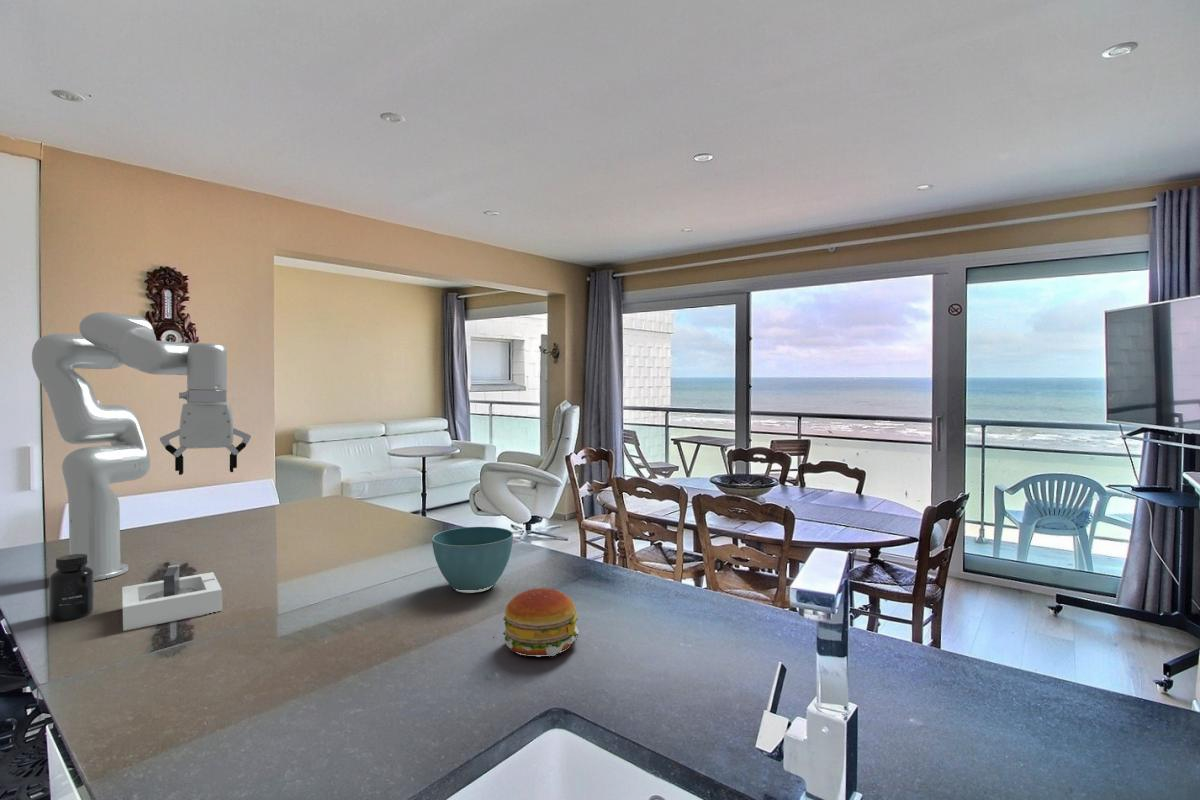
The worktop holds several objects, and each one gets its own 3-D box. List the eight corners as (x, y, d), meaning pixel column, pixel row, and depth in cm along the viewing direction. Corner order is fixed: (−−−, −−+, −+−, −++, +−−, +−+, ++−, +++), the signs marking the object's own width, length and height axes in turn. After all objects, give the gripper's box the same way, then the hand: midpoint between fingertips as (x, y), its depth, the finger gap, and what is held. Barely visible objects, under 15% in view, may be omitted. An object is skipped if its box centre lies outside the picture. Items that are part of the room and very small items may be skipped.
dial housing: (122, 608, 125) (122, 586, 125) (213, 591, 135) (213, 571, 135) (123, 631, 113) (122, 606, 113) (222, 611, 123) (222, 588, 123)
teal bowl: (415, 595, 132) (414, 540, 132) (463, 572, 149) (463, 523, 149) (485, 606, 126) (484, 548, 125) (527, 580, 142) (527, 529, 142)
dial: (195, 604, 122) (195, 572, 122) (140, 612, 118) (140, 579, 118) (200, 591, 130) (200, 561, 130) (149, 598, 126) (148, 567, 125)
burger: (495, 638, 110) (494, 584, 110) (564, 626, 115) (564, 575, 115) (514, 670, 98) (514, 609, 97) (590, 655, 103) (590, 598, 103)
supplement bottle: (67, 623, 117) (66, 562, 117) (39, 620, 118) (38, 560, 118) (102, 610, 123) (102, 553, 123) (76, 608, 125) (75, 551, 125)
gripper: (158, 398, 128) (158, 477, 128) (251, 398, 137) (251, 472, 137) (161, 397, 134) (161, 472, 135) (250, 397, 143) (250, 468, 144)
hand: (206, 472), depth 136 cm, fingers open, 9 cm apart
